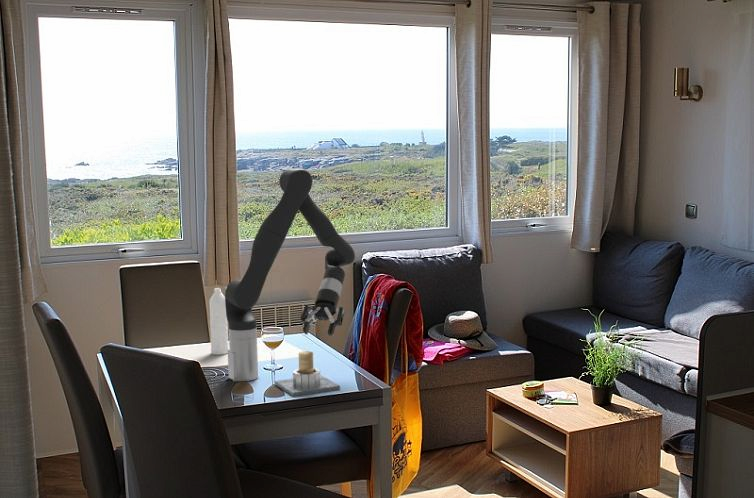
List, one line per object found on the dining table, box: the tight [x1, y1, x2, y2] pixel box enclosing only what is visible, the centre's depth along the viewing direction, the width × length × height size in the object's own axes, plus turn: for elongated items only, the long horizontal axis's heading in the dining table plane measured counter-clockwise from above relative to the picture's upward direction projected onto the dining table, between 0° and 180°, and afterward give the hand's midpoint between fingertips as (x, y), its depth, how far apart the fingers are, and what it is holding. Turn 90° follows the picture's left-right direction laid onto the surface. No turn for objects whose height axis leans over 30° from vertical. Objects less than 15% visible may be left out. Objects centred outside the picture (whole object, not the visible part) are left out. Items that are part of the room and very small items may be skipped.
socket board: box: [274, 367, 341, 397], centre depth 280 cm, size 16×16×5 cm
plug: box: [298, 350, 314, 374], centre depth 280 cm, size 5×5×10 cm
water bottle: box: [208, 286, 230, 356], centre depth 329 cm, size 9×6×25 cm
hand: (317, 333), depth 288 cm, fingers open, 8 cm apart
